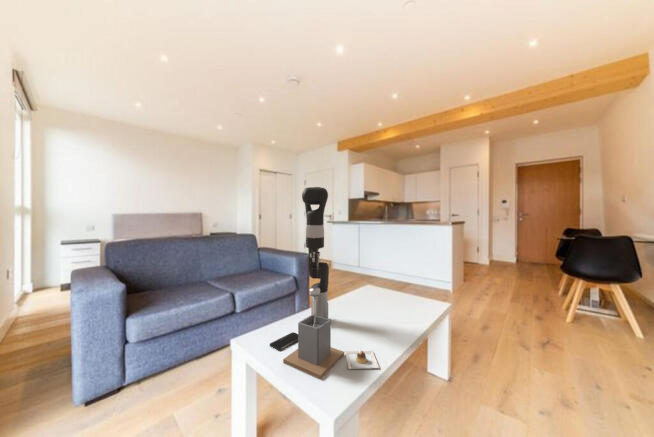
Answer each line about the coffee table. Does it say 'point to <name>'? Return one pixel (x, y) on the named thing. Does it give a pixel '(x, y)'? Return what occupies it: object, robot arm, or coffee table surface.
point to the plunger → (314, 304)
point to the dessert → (361, 358)
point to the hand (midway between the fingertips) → (314, 278)
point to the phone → (285, 341)
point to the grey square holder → (314, 348)
